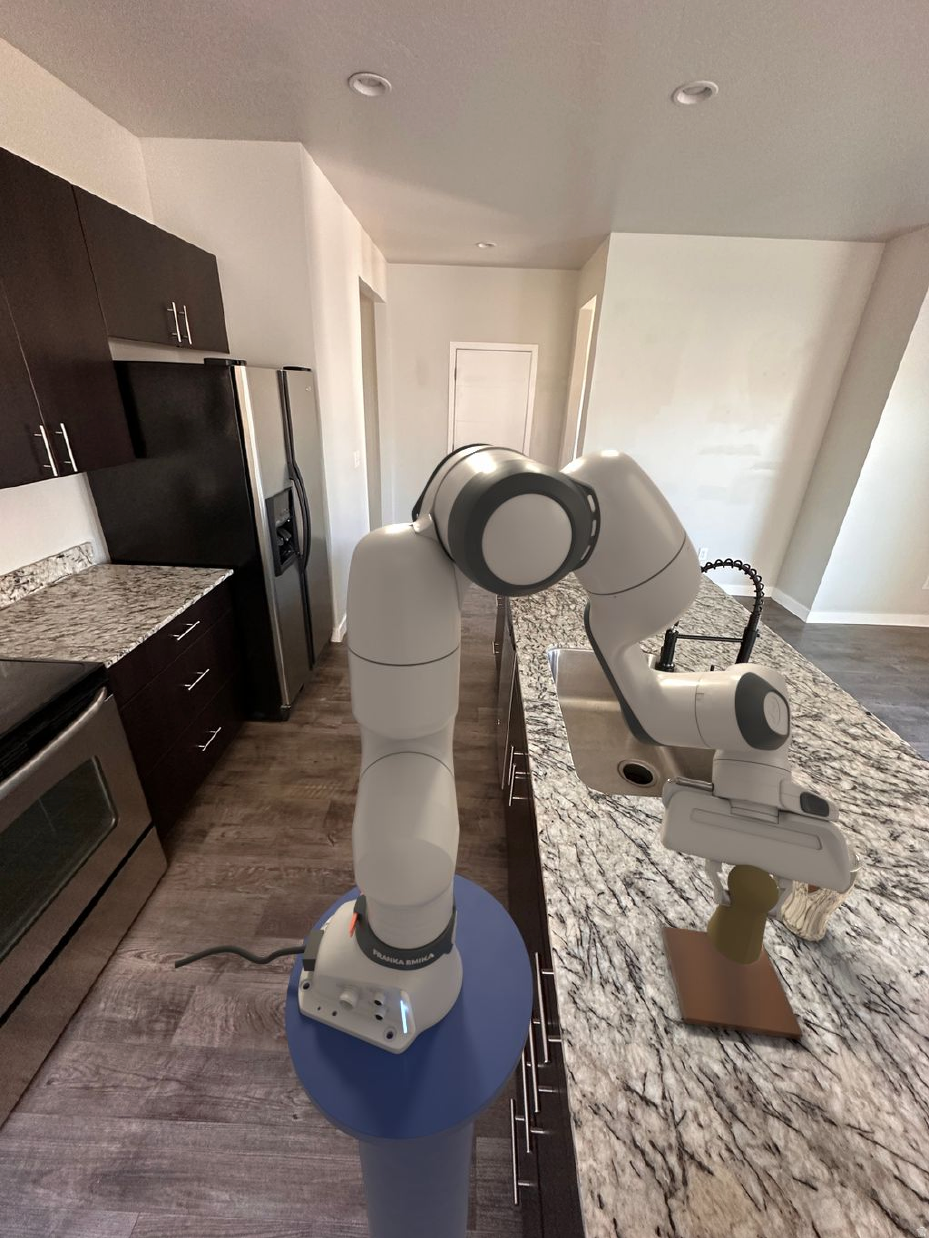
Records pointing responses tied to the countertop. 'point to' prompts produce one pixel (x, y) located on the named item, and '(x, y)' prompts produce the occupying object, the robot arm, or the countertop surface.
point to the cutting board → (727, 988)
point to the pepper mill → (743, 914)
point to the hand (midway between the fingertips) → (746, 911)
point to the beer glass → (816, 904)
